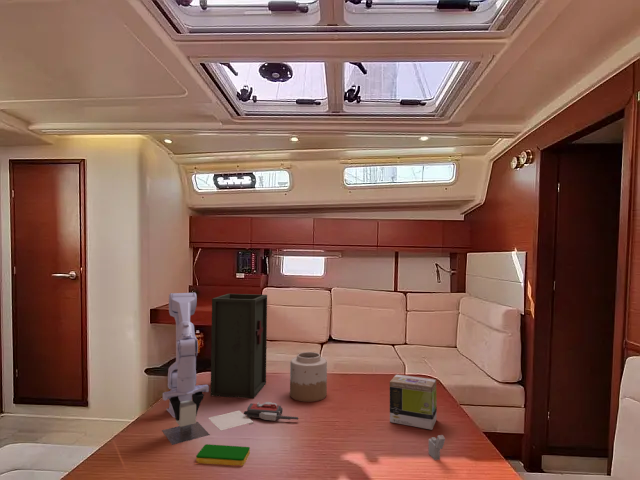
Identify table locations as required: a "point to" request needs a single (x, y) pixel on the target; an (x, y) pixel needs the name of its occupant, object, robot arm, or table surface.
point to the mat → (230, 420)
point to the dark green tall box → (238, 345)
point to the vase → (308, 377)
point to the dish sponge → (223, 455)
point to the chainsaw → (266, 411)
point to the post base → (185, 433)
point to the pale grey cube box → (187, 413)
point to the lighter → (436, 446)
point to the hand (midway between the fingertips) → (185, 417)
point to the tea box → (413, 401)
